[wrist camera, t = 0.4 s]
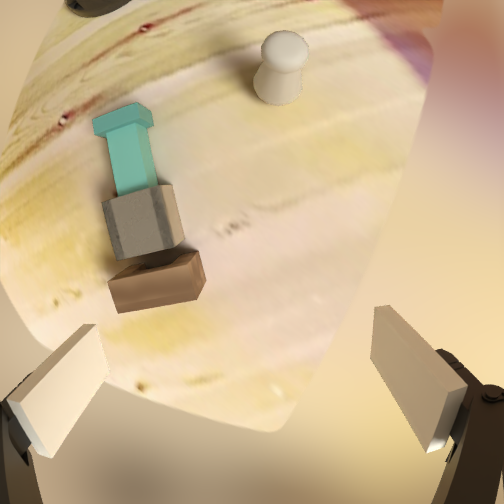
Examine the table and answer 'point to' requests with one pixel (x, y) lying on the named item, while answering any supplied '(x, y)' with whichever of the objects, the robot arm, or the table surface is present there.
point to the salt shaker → (281, 68)
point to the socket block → (158, 284)
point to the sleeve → (143, 222)
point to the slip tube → (128, 147)
